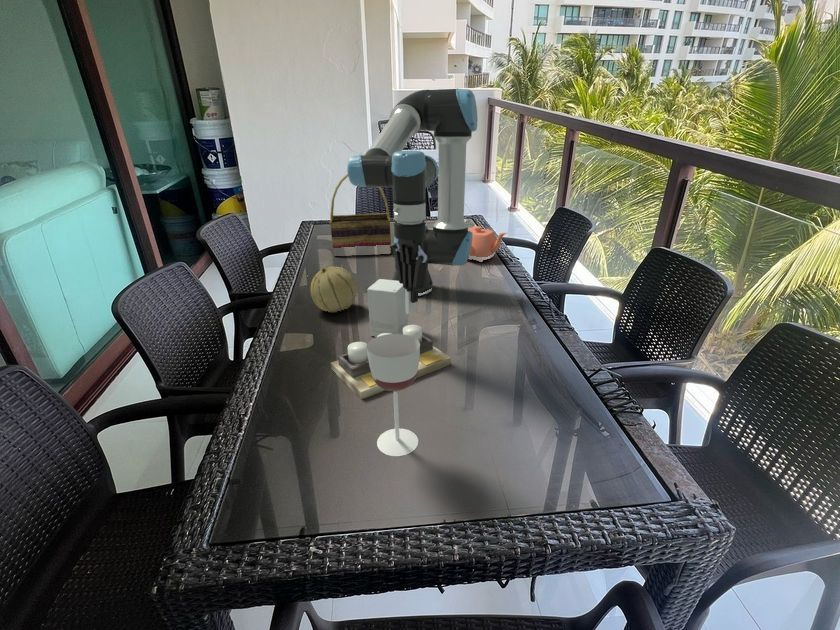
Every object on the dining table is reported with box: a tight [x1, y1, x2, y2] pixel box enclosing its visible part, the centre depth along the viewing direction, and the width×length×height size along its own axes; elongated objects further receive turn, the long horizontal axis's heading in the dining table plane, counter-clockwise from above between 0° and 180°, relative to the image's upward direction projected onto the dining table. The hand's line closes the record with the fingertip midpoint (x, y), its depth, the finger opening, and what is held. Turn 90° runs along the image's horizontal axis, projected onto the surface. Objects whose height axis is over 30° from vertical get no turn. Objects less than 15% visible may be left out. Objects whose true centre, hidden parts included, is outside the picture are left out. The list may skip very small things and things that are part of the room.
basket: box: [328, 173, 392, 249], centre depth 202 cm, size 26×15×35 cm, turn 97°
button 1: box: [347, 341, 368, 364], centre depth 113 cm, size 5×5×4 cm
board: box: [330, 334, 452, 400], centre depth 117 cm, size 16×26×4 cm, turn 125°
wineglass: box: [367, 334, 420, 457], centre depth 87 cm, size 9×10×22 cm
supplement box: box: [366, 278, 410, 337], centre depth 133 cm, size 9×9×15 cm
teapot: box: [468, 225, 508, 257], centre depth 194 cm, size 18×18×14 cm
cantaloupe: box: [310, 266, 358, 313], centre depth 147 cm, size 15×15×15 cm
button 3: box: [403, 324, 423, 343], centre depth 121 cm, size 5×5×4 cm
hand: (411, 312), depth 118 cm, fingers closed
